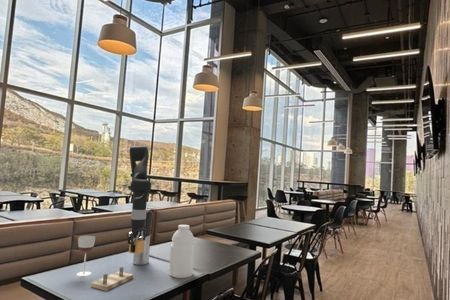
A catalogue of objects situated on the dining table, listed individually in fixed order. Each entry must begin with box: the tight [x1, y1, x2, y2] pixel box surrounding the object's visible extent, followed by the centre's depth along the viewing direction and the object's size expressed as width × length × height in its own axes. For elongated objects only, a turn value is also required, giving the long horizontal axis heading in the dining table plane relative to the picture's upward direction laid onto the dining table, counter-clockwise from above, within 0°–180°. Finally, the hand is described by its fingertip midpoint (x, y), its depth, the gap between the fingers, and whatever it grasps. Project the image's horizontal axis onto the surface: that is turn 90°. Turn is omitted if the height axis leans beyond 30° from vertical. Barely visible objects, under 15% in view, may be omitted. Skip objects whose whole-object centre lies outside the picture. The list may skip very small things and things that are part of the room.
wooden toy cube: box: [128, 239, 144, 255], centre depth 159 cm, size 5×5×6 cm
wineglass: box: [76, 235, 96, 277], centre depth 171 cm, size 8×9×20 cm
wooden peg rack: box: [90, 266, 134, 292], centre depth 160 cm, size 20×10×6 cm, turn 159°
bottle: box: [168, 224, 196, 279], centre depth 179 cm, size 14×14×28 cm
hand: (136, 250), depth 159 cm, fingers closed on wooden toy cube, 5 cm apart
